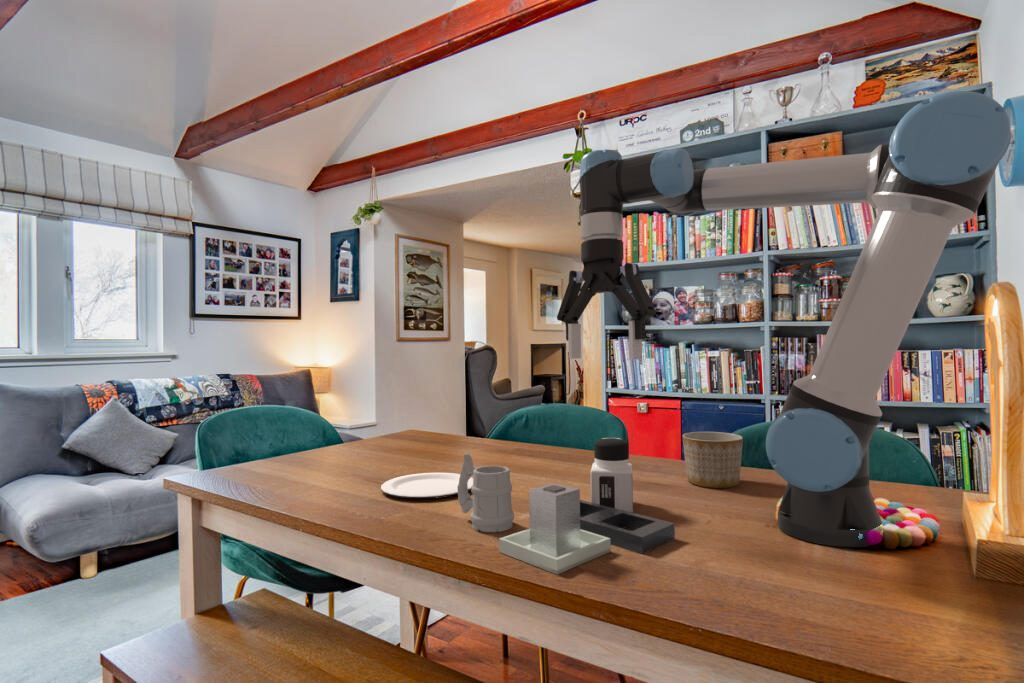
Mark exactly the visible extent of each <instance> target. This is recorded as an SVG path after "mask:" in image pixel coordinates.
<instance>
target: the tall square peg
mask: <svg viewBox="0 0 1024 683" xmlns="http://www.w3.org/2000/svg"><path fill="white" fill-rule="evenodd" d="M528 490H529V505H530V507H529V528H530V548H531V549H534V550H537V551H540V552H542V553H545V554H548V555H551V556H553V557H556V558H557V557H559V556H562V555H564V554H567V553H569V552H572V551H574V550H577V549H579V548H581V543H580V517H581V516H580V500H581V498H580V497H581V495H580V494H581V493H580V490H581V489H580V488H577V487H572V486H568V485H565V484H559V483H554V482H552V483H549V484H544V485H540V486H538V487H534V488H530V489H528Z"/></svg>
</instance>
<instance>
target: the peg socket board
mask: <svg viewBox="0 0 1024 683" xmlns="http://www.w3.org/2000/svg"><path fill="white" fill-rule="evenodd" d="M528 505H529V508H530V504H528ZM675 524H676V523H674V522H670V521H667V520H662V519H659V518H655V517H651V516H648V515H647V516H646V515H642V514H640V513H639V514H638V513H635V512H632V513H631V512H627V511H623V510H619V509H615V508H611V507H607V506H603V505H599V504H595V503H591V501H587V500H583V499H580V529H581V530H585V531H588V532H591V533H595V534H598V535H601V536H605V537H608V538H610V540H611V545H612V546H615V547H618V548H622V549H626V550H629V551H631V552H635V553H638V554H642V555H643V554H646V553H648V552H650V551H652V550H655V549H657V548H659V547H660V546H663V545H665V544H667V543H669V542H672V541H674V540H675V539H676V530H675V529H676V528H675V527H676V526H675Z"/></svg>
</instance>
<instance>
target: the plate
mask: <svg viewBox="0 0 1024 683" xmlns="http://www.w3.org/2000/svg"><path fill="white" fill-rule="evenodd" d="M460 474H461V473H454V472H422V473H421V472H420V473H414V474H413V473H412V474H406V475H402V476H397V477H395V478H390V479H389V480H386V481H384V482H383V483H382V484H381V485H380V486H381V487H380V490H381V491H382V492H383V493H384V494H387V495H388V496H391V497H396V498H405V499H411V498H432V499H437V498H436V497H441V498H445V496H447V497H451V495H452V496H454V495H458V484H459V479H460ZM467 484H468V492H469V491H471V490H472V485H473V477H472V476H471V477H470V479H469V480H468V483H467Z"/></svg>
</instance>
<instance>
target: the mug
mask: <svg viewBox="0 0 1024 683" xmlns="http://www.w3.org/2000/svg"><path fill="white" fill-rule="evenodd" d="M462 462H463V463H462V466H461V471H460V473H459V474H460V479H459V484H458V494H457V496H458V497H457V499H458V500H457V501H458V504H459V506H460V507H461V508H460V509H461V511H462V513H463V514H467V513H469V511H470V510H471V509H472V510H471V511H472V512H470V518H469V519H470V521H471V523H472V529H474V530H475V531H480V532H483V533H497V532H498V533H501V532H506V531H508V530H510V529H512V528H513V522H514V520H515V512H514V511H513V510H512V509H513V508H512V505H513V504H512V491H513V485H512V483H511V472H510V471H511V470H510V468H508V467H507V466H504V465H503V466H502V465H488V466H487V465H483V466H479V467H474V461H473V459H472V456H471V455H470V453H468V452H466V453H464V454H463V461H462ZM470 477H471V478H473V485H472V489H470V491H471V494H472V497H471V495H470V493H469V491H468V484H467V483H468V480H469V479H470Z"/></svg>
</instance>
